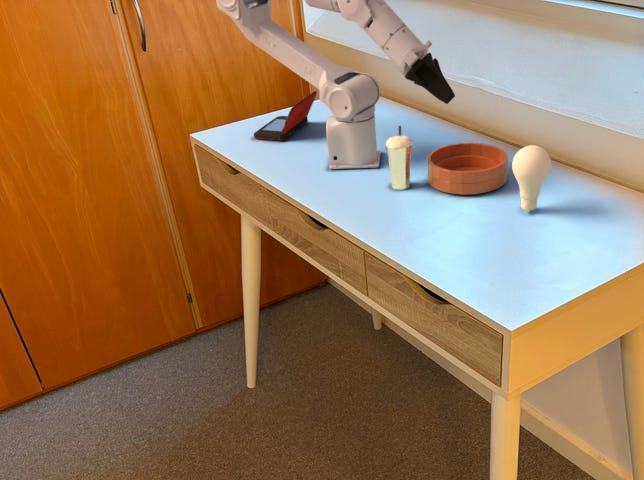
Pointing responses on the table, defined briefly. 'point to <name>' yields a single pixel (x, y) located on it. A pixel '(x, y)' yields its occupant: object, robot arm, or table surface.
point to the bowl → (467, 168)
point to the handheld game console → (287, 121)
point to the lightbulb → (530, 173)
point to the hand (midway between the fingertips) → (448, 98)
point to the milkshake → (399, 160)
